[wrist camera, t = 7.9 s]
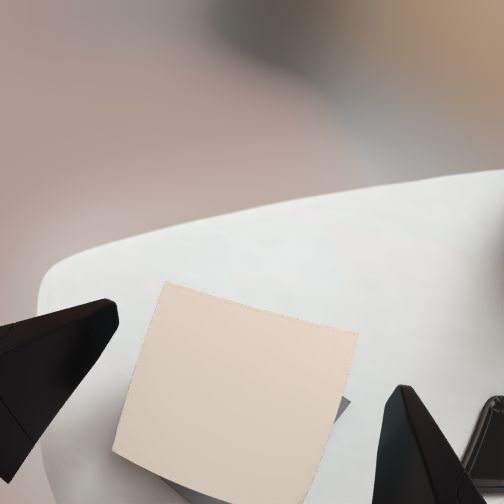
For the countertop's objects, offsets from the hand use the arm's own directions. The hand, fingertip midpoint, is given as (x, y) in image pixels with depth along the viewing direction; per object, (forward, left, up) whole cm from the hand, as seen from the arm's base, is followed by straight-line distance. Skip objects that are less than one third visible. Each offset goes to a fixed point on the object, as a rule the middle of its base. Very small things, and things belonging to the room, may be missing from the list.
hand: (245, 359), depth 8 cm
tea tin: (-1, -1, -10) cm, 10 cm away
